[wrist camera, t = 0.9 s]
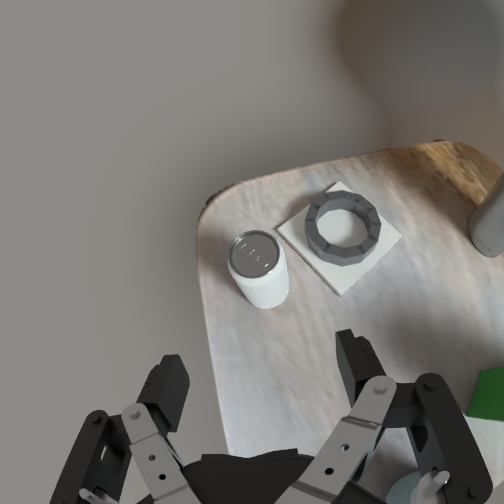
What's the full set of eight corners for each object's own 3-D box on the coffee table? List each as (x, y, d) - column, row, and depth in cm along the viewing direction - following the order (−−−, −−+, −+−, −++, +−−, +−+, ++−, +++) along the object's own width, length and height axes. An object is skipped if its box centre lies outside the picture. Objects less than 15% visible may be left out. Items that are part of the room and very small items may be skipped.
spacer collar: (340, 190, 44) (341, 179, 42) (389, 234, 39) (394, 224, 37) (291, 229, 43) (290, 219, 40) (341, 280, 38) (344, 273, 35)
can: (271, 318, 38) (258, 294, 28) (236, 292, 41) (211, 260, 30) (298, 282, 40) (296, 245, 29) (263, 259, 42) (249, 217, 32)
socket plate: (339, 184, 46) (339, 181, 45) (400, 238, 40) (401, 235, 39) (278, 232, 44) (277, 228, 43) (340, 297, 38) (341, 294, 37)
